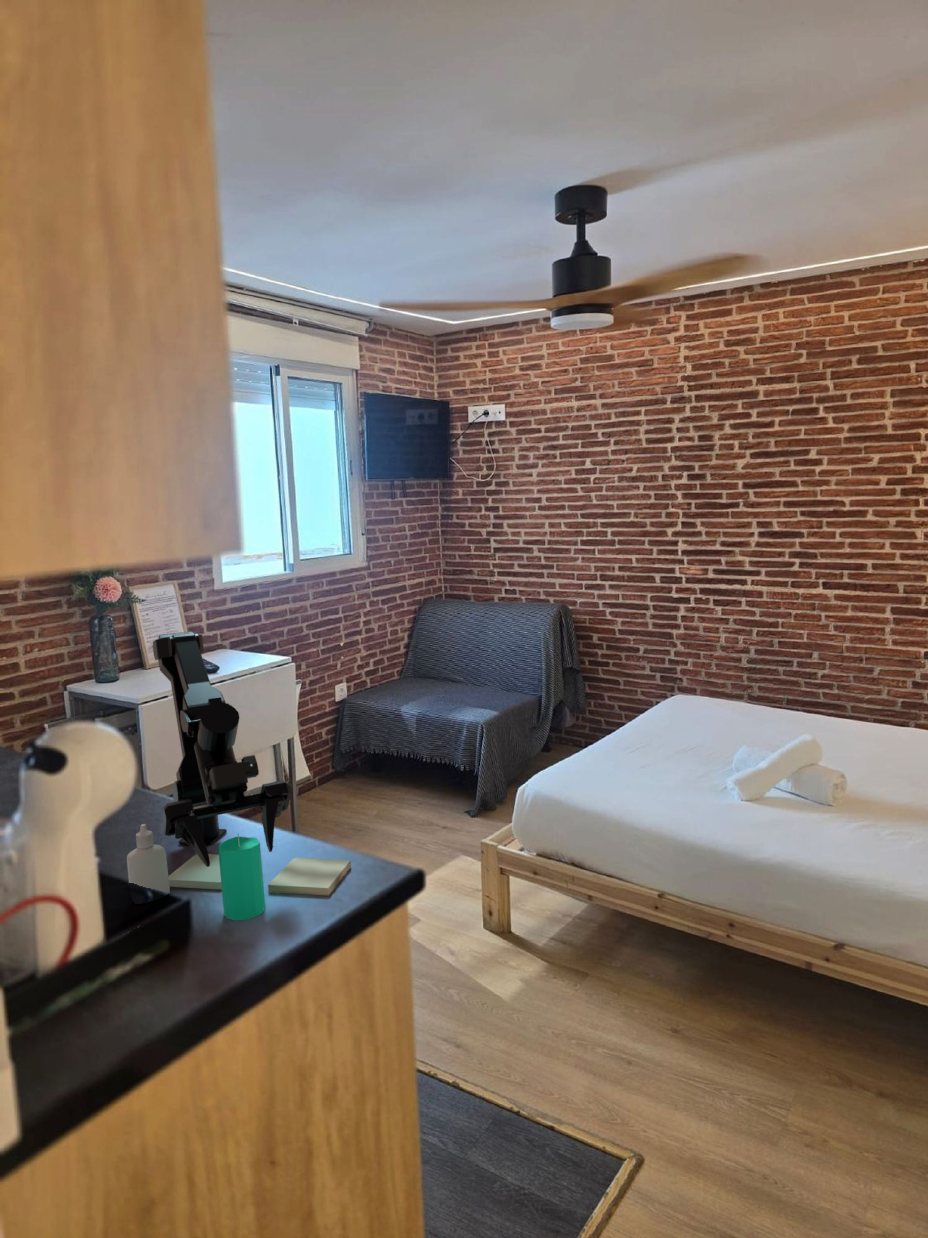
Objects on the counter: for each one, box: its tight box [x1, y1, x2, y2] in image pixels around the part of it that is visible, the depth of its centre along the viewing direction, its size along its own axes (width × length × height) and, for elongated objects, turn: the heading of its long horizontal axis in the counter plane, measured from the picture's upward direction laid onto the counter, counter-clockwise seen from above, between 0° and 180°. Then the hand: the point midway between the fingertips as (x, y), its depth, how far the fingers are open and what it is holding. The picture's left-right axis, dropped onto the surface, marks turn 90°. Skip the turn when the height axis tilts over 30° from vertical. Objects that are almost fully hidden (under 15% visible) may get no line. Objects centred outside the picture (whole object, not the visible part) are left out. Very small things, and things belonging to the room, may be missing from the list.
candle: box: [217, 833, 266, 921], centre depth 122 cm, size 6×6×12 cm
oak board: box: [267, 857, 352, 896], centre depth 132 cm, size 10×10×1 cm
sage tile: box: [168, 853, 222, 891], centre depth 136 cm, size 10×10×1 cm
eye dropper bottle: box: [126, 823, 171, 894], centre depth 127 cm, size 4×6×12 cm
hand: (240, 858), depth 121 cm, fingers open, 9 cm apart
